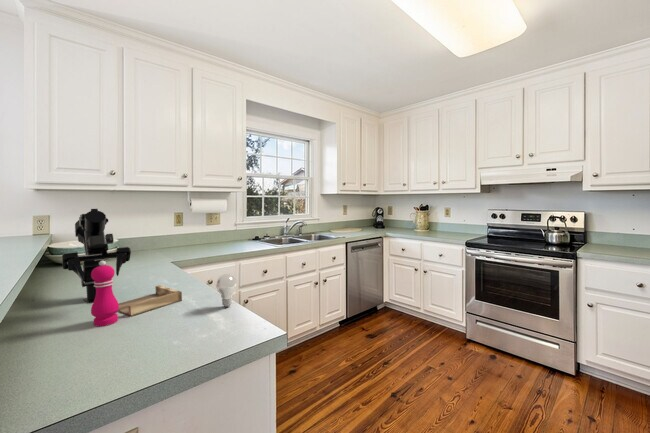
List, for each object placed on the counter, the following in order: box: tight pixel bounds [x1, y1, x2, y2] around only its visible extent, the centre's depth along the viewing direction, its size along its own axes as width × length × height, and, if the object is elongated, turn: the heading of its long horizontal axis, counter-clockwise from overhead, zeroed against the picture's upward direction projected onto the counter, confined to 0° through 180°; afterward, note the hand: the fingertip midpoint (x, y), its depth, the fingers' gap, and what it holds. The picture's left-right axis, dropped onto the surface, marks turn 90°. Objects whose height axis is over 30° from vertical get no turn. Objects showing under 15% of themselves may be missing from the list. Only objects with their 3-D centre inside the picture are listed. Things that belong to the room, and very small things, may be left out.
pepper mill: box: [90, 260, 119, 327], centre depth 96 cm, size 7×7×20 cm
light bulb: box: [215, 273, 237, 308], centre depth 109 cm, size 7×7×12 cm
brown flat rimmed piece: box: [117, 284, 183, 318], centre depth 113 cm, size 16×18×4 cm
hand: (101, 277), depth 101 cm, fingers open, 9 cm apart
